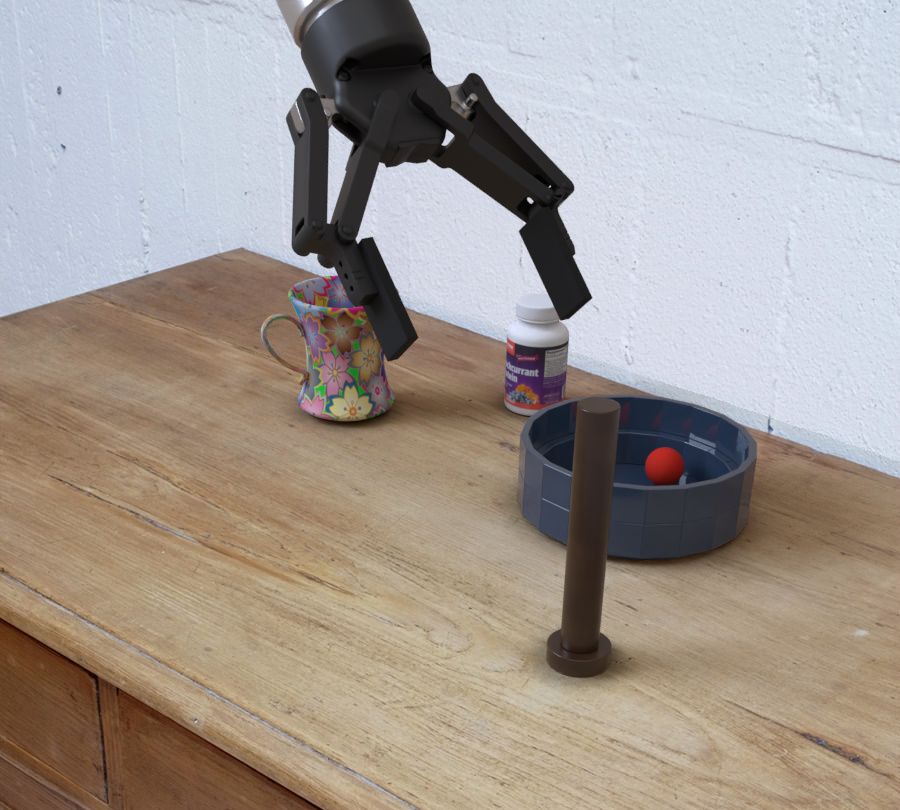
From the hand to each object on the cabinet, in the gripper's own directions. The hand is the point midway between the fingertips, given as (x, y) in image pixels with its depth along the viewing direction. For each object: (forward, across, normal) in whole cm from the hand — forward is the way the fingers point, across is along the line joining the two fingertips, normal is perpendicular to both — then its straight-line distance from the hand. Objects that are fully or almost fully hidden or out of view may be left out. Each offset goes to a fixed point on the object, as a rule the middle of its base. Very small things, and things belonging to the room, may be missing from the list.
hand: (494, 329), depth 79 cm
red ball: (+9, -22, -14) cm, 27 cm away
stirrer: (+20, 0, -6) cm, 21 cm away
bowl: (+11, -17, -15) cm, 25 cm away
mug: (-9, -10, -36) cm, 39 cm away
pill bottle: (-3, -25, -29) cm, 39 cm away
